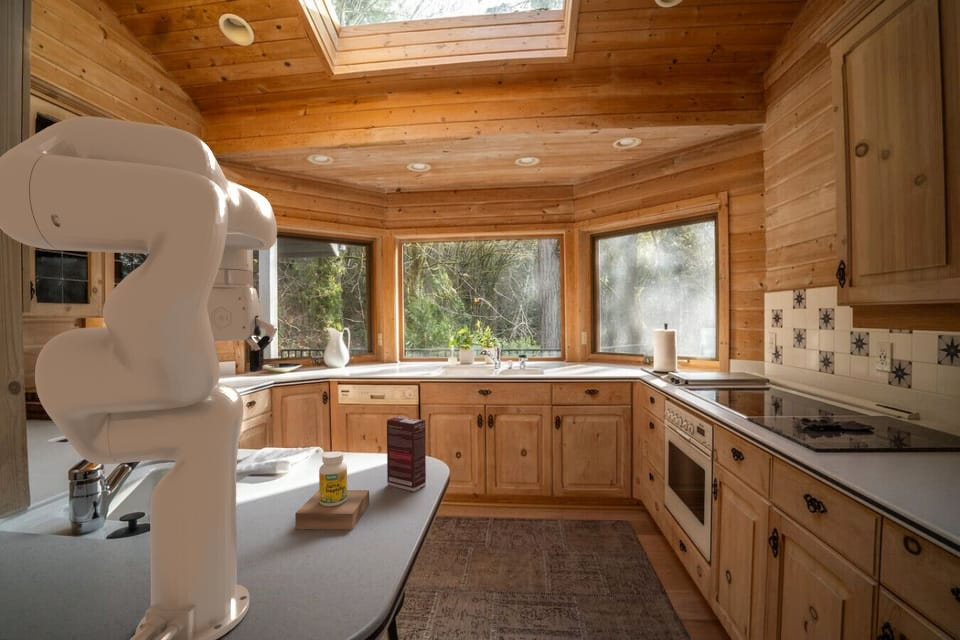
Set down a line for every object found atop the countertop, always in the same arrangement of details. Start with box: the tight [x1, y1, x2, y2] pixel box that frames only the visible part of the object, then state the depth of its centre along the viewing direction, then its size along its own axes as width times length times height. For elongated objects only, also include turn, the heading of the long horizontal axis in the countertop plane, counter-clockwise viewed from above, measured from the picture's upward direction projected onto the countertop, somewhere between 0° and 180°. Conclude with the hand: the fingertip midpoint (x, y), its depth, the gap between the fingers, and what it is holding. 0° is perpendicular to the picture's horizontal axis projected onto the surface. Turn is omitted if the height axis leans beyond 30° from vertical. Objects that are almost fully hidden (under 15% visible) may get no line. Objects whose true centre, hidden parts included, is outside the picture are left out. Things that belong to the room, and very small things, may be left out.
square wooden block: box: [294, 489, 370, 531], centre depth 86 cm, size 11×11×3 cm
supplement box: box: [386, 415, 427, 492], centre depth 102 cm, size 9×5×16 cm, turn 59°
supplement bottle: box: [318, 451, 348, 506], centre depth 86 cm, size 5×5×10 cm
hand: (231, 370), depth 81 cm, fingers open, 9 cm apart
